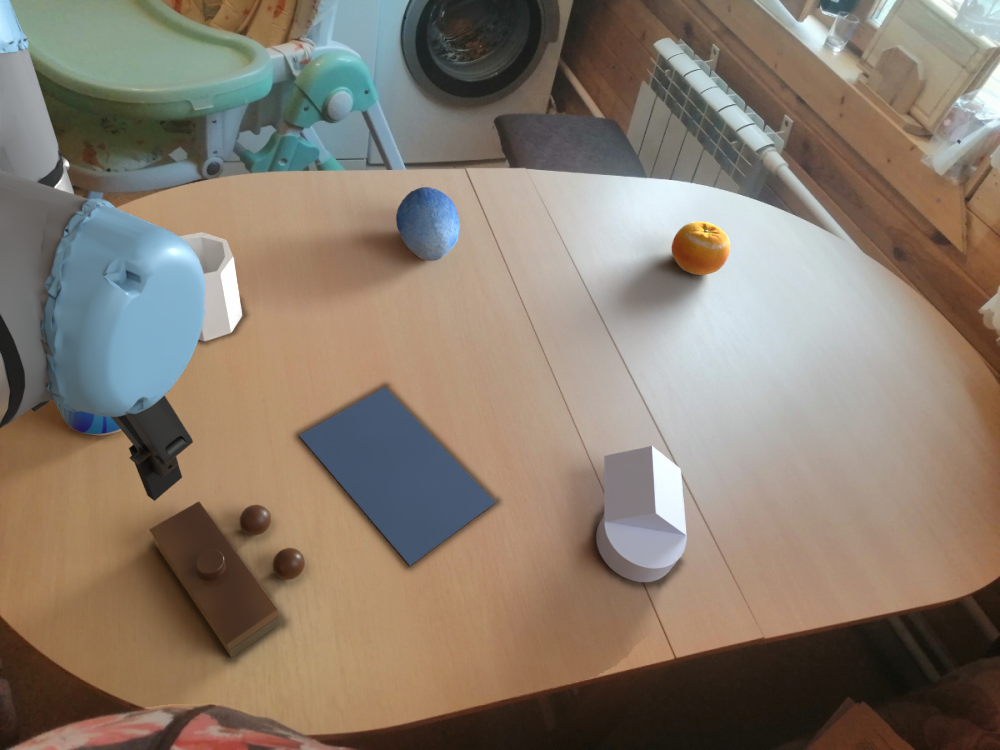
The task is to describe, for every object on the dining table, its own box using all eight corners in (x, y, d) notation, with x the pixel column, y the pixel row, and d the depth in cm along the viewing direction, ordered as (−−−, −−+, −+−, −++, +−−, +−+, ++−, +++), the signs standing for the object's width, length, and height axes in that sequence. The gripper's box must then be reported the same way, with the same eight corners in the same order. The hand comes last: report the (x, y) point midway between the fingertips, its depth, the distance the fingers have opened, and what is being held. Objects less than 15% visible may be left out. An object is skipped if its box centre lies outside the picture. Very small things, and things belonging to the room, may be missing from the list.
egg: (440, 151, 104) (453, 220, 95) (458, 195, 111) (472, 264, 102) (383, 169, 105) (391, 240, 96) (405, 212, 112) (413, 282, 103)
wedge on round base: (596, 471, 85) (596, 574, 76) (612, 438, 80) (613, 545, 71) (670, 484, 85) (678, 588, 77) (691, 452, 80) (702, 560, 72)
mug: (245, 292, 94) (236, 233, 86) (238, 342, 88) (228, 283, 81) (146, 290, 91) (128, 228, 84) (132, 340, 86) (112, 279, 79)
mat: (409, 566, 74) (409, 565, 73) (299, 436, 81) (299, 435, 81) (495, 502, 80) (495, 502, 80) (385, 387, 88) (385, 387, 88)
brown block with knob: (231, 658, 65) (224, 638, 61) (156, 546, 71) (145, 521, 67) (280, 623, 68) (276, 602, 64) (204, 518, 73) (196, 492, 69)
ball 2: (284, 591, 70) (282, 577, 68) (267, 568, 71) (265, 554, 69) (311, 572, 71) (310, 559, 69) (294, 550, 73) (292, 536, 70)
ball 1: (251, 546, 72) (248, 532, 70) (235, 524, 73) (232, 510, 71) (277, 529, 74) (275, 515, 72) (262, 508, 75) (259, 494, 73)
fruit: (708, 221, 115) (717, 202, 107) (734, 267, 113) (745, 251, 105) (660, 244, 115) (665, 227, 107) (685, 291, 114) (692, 276, 106)
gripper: (220, 300, 42) (254, 492, 57) (-60, 123, 48) (41, 341, 64) (108, 376, 37) (179, 562, 53) (-186, 169, 43) (-43, 392, 59)
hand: (104, 442), depth 58 cm, fingers open, 13 cm apart
